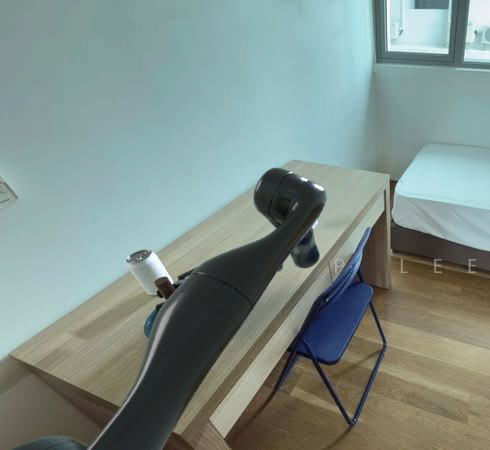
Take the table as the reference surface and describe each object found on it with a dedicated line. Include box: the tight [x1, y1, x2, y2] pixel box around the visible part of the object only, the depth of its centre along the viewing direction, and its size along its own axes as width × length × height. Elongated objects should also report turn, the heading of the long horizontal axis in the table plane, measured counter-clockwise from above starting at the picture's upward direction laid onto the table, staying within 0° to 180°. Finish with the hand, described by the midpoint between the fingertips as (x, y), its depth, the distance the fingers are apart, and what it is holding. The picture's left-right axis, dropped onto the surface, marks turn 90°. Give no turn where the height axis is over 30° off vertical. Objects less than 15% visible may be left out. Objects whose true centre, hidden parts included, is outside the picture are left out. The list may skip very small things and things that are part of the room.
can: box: [126, 248, 174, 296], centre depth 85 cm, size 6×6×12 cm
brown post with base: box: [154, 277, 176, 301], centre depth 72 cm, size 5×5×15 cm
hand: (157, 301), depth 69 cm, fingers open, 4 cm apart
